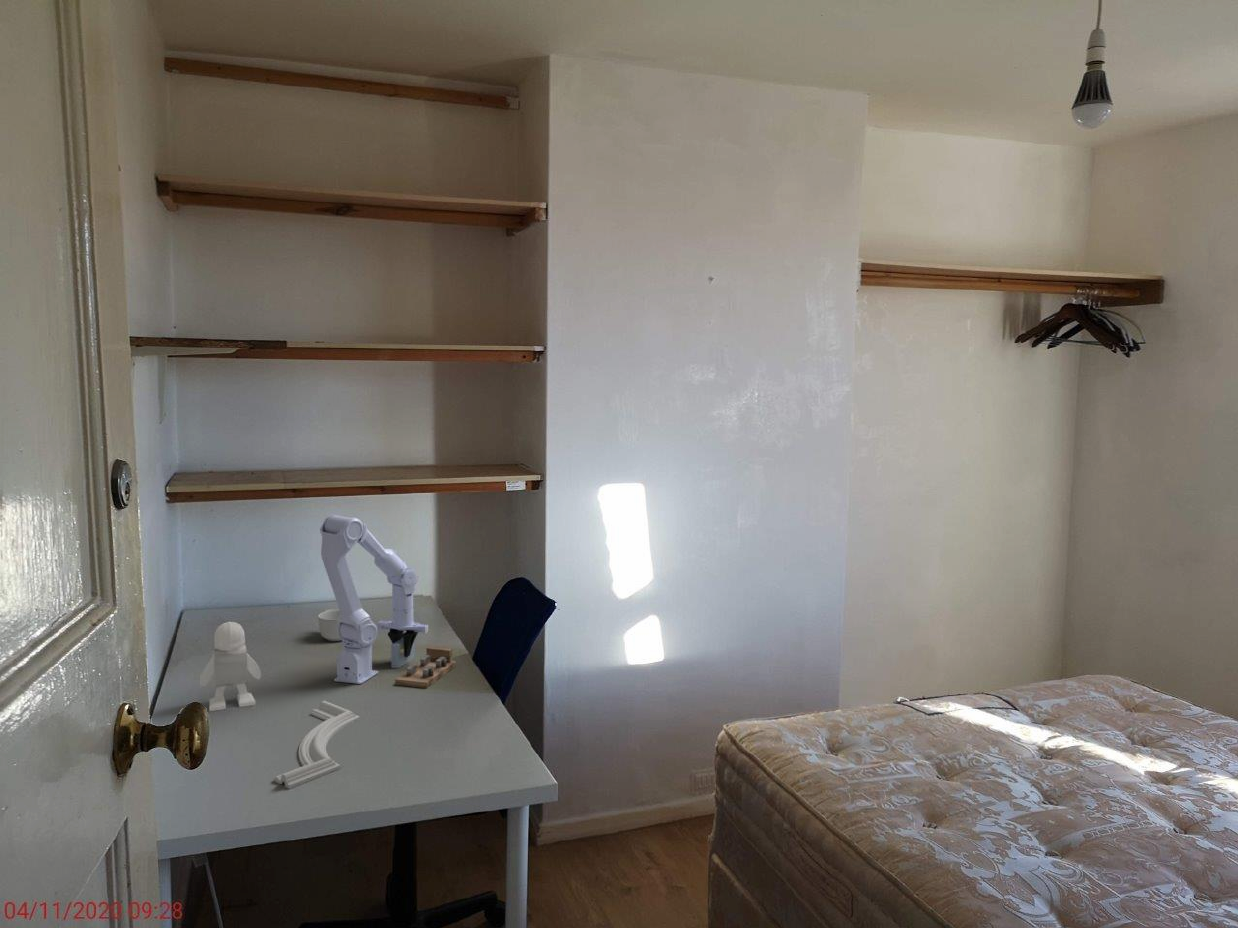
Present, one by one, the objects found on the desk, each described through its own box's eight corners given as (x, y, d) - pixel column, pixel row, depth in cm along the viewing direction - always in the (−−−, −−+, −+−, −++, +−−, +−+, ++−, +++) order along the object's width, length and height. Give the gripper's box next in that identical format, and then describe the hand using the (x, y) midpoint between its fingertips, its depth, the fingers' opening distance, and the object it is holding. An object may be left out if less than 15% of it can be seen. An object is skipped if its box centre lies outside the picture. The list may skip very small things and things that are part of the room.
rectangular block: (400, 668, 242) (400, 645, 241) (391, 667, 243) (391, 644, 242) (417, 657, 252) (417, 635, 251) (408, 656, 252) (408, 634, 252)
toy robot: (200, 712, 209) (198, 630, 207) (199, 700, 216) (197, 620, 214) (263, 703, 215) (261, 623, 213) (260, 691, 223) (258, 614, 221)
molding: (313, 710, 212) (313, 699, 212) (365, 708, 214) (365, 697, 214) (268, 792, 171) (268, 778, 170) (333, 789, 172) (332, 774, 172)
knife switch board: (427, 687, 227) (426, 669, 227) (395, 684, 229) (395, 666, 229) (455, 666, 245) (455, 648, 244) (426, 663, 247) (426, 645, 246)
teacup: (359, 640, 267) (359, 614, 266) (323, 645, 261) (322, 619, 260) (347, 629, 279) (347, 604, 278) (312, 633, 273) (311, 608, 272)
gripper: (433, 606, 248) (433, 653, 249) (386, 602, 251) (386, 649, 253) (421, 613, 241) (422, 661, 242) (373, 609, 245) (374, 656, 246)
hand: (403, 655), depth 247 cm, fingers closed on rectangular block, 2 cm apart
